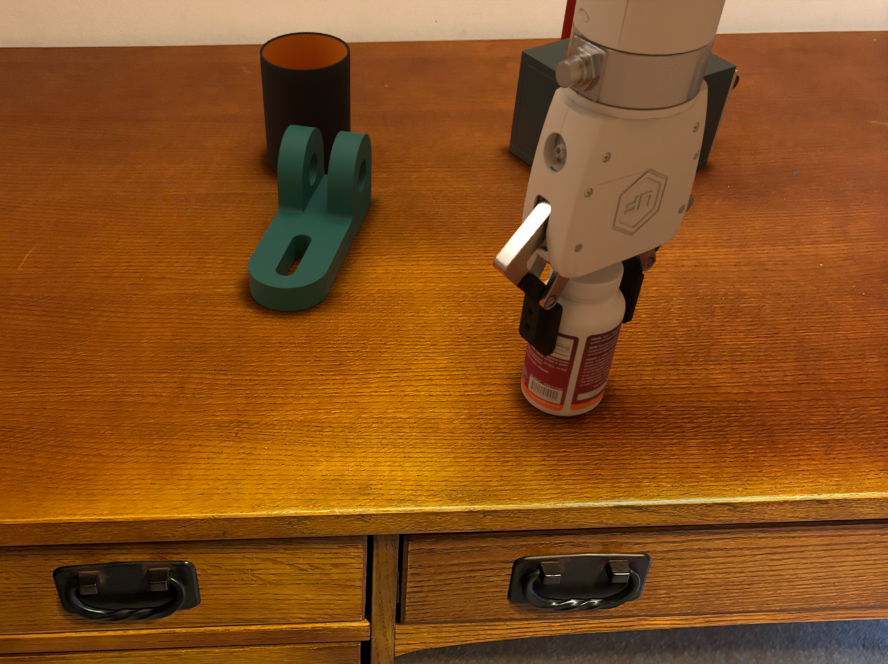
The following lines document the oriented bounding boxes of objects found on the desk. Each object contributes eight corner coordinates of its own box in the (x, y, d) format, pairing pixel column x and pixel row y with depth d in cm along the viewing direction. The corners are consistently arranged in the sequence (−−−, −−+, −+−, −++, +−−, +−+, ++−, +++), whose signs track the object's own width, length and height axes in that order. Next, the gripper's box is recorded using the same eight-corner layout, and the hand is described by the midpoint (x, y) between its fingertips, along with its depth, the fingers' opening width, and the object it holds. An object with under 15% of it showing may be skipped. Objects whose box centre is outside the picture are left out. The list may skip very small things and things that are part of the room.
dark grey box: (619, 115, 97) (641, 17, 89) (705, 167, 90) (737, 65, 82) (508, 150, 92) (521, 50, 84) (590, 208, 85) (612, 104, 78)
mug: (322, 117, 97) (319, 11, 89) (362, 171, 89) (363, 61, 81) (247, 131, 95) (237, 24, 87) (282, 187, 88) (274, 76, 80)
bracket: (302, 193, 87) (298, 111, 81) (370, 203, 86) (372, 120, 80) (239, 304, 76) (229, 218, 70) (317, 316, 75) (313, 230, 69)
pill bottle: (595, 365, 71) (628, 238, 62) (608, 420, 67) (645, 292, 58) (514, 364, 71) (536, 237, 62) (523, 419, 67) (548, 291, 58)
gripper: (555, 129, 45) (508, 401, 59) (798, 52, 51) (703, 317, 65) (467, 72, 50) (442, 339, 63) (701, 6, 55) (631, 265, 69)
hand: (575, 326), depth 64 cm, fingers closed on pill bottle, 6 cm apart
